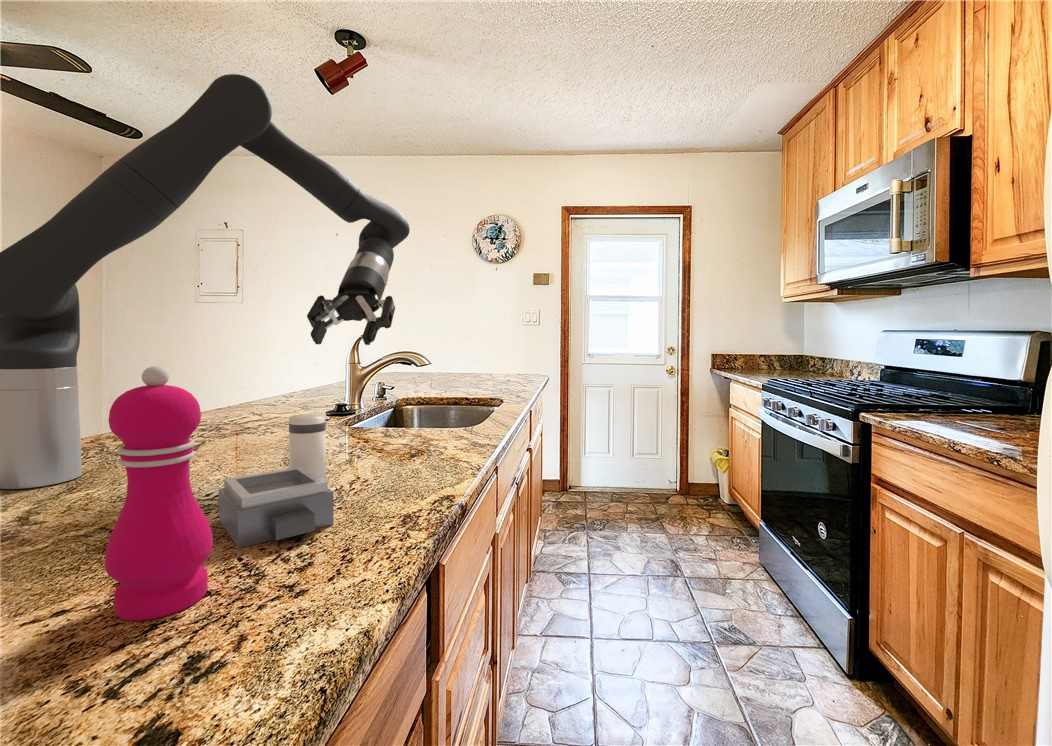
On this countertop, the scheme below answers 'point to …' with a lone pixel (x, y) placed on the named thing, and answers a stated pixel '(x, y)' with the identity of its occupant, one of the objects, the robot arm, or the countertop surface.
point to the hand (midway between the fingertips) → (340, 341)
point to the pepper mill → (157, 503)
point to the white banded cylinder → (308, 443)
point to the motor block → (274, 505)
